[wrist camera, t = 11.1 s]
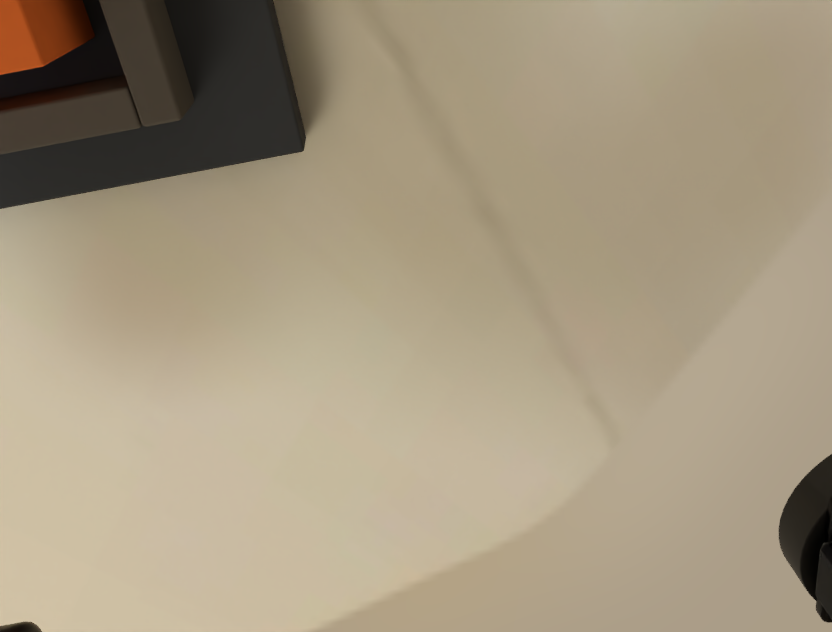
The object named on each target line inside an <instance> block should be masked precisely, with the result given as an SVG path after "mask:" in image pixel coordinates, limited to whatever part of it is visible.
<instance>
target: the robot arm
mask: <svg viewBox="0 0 832 632" xmlns="http://www.w3.org/2000/svg"><path fill="white" fill-rule="evenodd" d="M815 595H816V597H817V600H816V611H817V613H818V614H819V616H820V617H821V619H822V620H823V621H824V622H828V623H830V622H832V496H831V497H830V498H829V501H828V507H827V516H826V524H825V532H824V541H823V545H822V547H821V549H820V555H819V564H818V572H817V581H816V590H815ZM0 632H42V631H41V629H40V628H39V627H38V626H37V625H35V624H34V623H32V622H21V623H15V624H10V625H4V626H0Z"/></svg>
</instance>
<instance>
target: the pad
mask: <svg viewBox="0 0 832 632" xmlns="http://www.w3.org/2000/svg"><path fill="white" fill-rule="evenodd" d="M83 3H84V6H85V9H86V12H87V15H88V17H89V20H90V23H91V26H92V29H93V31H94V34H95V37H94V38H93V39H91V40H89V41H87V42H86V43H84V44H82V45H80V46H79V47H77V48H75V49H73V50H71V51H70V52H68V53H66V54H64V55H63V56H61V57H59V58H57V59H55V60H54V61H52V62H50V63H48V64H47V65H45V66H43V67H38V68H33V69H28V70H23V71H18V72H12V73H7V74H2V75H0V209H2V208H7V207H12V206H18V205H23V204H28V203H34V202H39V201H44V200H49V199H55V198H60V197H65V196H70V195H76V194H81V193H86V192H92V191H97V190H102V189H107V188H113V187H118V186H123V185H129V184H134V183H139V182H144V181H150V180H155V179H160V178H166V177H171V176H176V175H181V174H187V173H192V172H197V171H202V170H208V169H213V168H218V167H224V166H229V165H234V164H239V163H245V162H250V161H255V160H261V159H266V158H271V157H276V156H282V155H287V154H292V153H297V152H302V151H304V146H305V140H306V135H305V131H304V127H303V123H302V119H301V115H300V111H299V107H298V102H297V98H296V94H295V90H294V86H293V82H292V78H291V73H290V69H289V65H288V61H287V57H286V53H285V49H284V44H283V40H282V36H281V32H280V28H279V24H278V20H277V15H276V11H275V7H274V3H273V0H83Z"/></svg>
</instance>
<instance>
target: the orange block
mask: <svg viewBox="0 0 832 632" xmlns="http://www.w3.org/2000/svg"><path fill="white" fill-rule="evenodd" d="M94 37H95V34H94V31H93V29H92V26H91V23H90V20H89V17H88V15H87V12H86V9H85V6H84V3H83V0H0V75H2V74H7V73H12V72H18V71H23V70H28V69H33V68H38V67H43V66H45V65H47V64H48V63H50V62H52V61H54V60H55V59H57V58H59V57H61V56H63V55H64V54H66V53H68V52H70V51H71V50H73V49H75V48H77V47H79V46H80V45H82V44H84V43H86V42H87V41H89V40H91V39H93V38H94Z"/></svg>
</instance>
